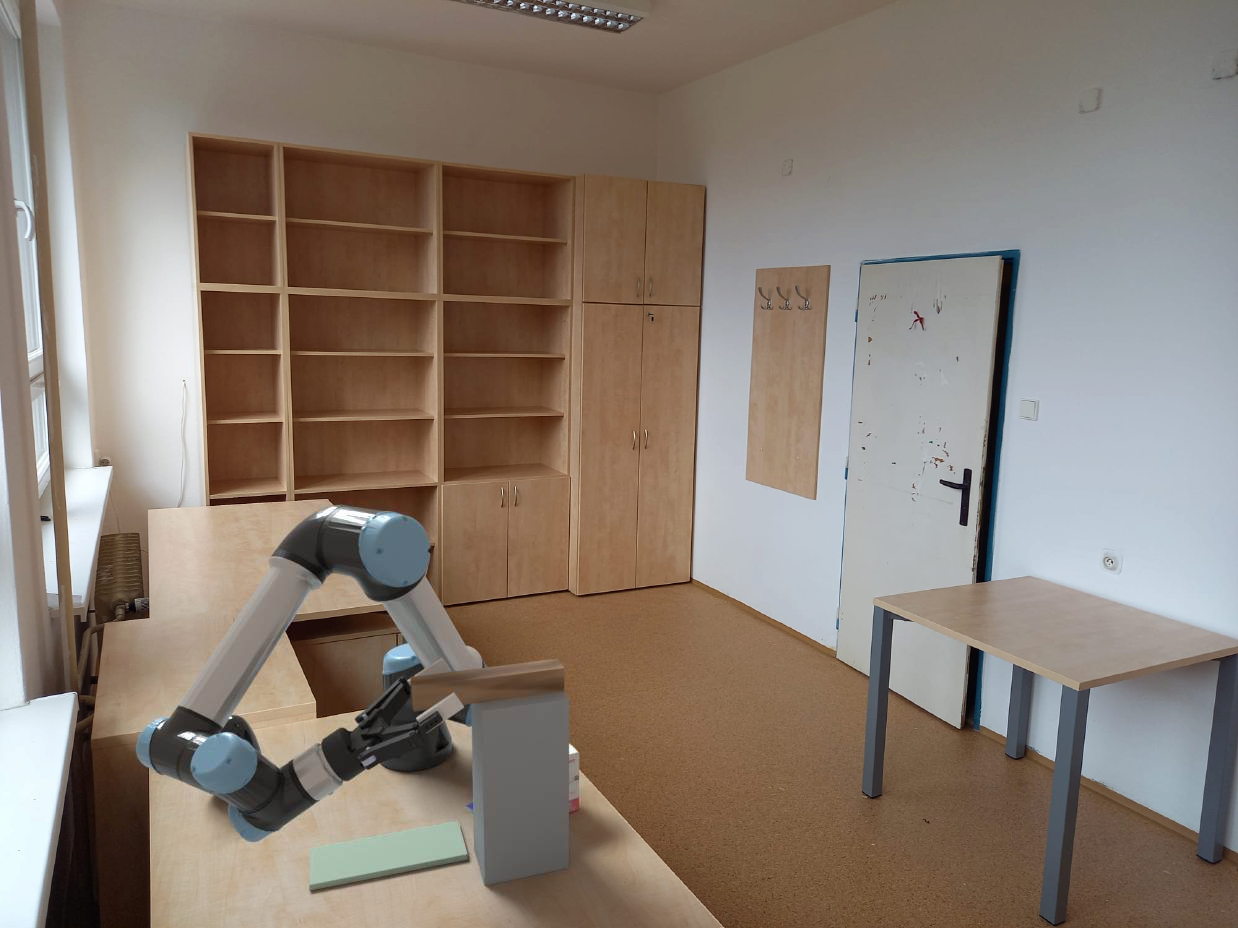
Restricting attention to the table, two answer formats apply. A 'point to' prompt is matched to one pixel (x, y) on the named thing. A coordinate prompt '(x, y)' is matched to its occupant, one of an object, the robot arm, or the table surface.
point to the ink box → (573, 779)
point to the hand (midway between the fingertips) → (452, 680)
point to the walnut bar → (488, 683)
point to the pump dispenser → (241, 730)
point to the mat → (385, 854)
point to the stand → (521, 786)
